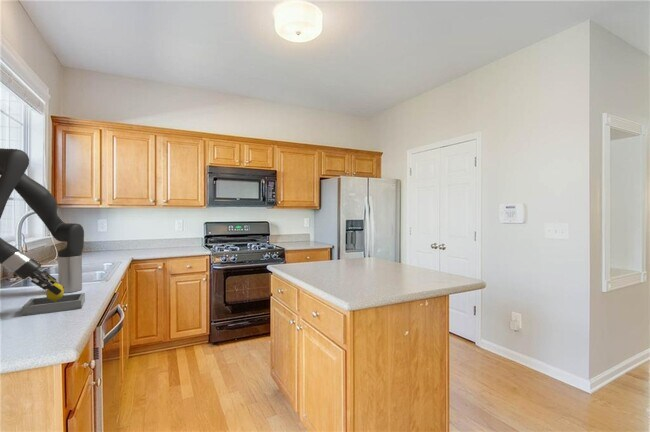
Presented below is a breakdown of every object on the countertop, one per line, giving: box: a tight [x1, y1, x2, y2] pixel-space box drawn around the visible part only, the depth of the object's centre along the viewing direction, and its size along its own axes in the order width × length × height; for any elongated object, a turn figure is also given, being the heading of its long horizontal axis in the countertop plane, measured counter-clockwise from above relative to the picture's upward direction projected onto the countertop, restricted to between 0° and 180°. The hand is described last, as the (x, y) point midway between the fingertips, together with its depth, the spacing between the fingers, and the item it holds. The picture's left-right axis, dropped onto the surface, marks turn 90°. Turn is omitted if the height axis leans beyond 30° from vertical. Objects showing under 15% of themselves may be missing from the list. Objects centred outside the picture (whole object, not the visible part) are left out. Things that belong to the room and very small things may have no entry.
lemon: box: [45, 282, 65, 302], centre depth 132 cm, size 6×6×8 cm
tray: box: [21, 292, 86, 317], centre depth 132 cm, size 13×18×3 cm
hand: (60, 291), depth 133 cm, fingers closed on lemon, 5 cm apart
